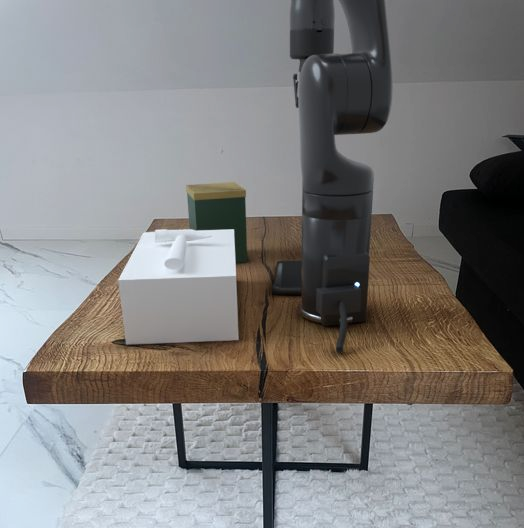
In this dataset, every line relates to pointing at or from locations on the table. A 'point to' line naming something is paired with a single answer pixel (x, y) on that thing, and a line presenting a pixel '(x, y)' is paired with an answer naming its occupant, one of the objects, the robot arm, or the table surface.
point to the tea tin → (219, 211)
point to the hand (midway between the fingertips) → (310, 134)
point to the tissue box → (180, 288)
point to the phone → (287, 278)
